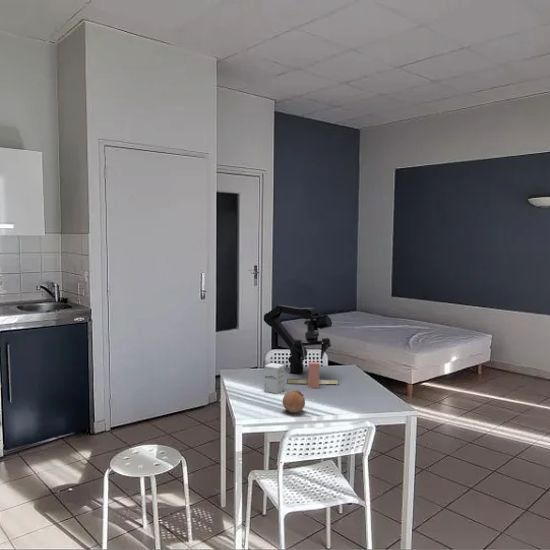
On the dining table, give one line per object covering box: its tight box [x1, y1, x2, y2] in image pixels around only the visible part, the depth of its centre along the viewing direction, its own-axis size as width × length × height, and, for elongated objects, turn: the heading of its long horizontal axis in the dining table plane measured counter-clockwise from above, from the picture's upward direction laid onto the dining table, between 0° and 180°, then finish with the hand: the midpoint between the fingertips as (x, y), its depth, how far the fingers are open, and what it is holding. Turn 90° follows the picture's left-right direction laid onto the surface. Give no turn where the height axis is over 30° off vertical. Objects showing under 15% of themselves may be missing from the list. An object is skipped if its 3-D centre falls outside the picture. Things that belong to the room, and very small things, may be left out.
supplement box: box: [263, 362, 286, 395], centre depth 245 cm, size 7×7×13 cm
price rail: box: [286, 378, 340, 386], centre depth 259 cm, size 3×26×2 cm, turn 90°
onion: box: [282, 390, 306, 414], centre depth 217 cm, size 10×9×10 cm
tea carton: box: [307, 361, 321, 389], centre depth 254 cm, size 4×5×12 cm
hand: (312, 359), depth 262 cm, fingers open, 9 cm apart
